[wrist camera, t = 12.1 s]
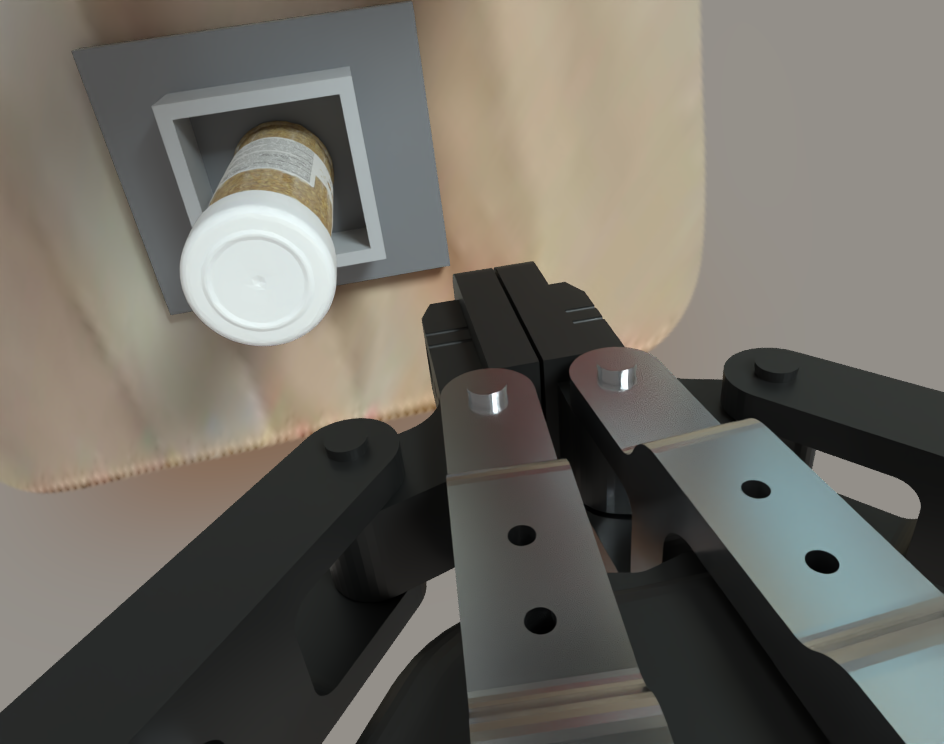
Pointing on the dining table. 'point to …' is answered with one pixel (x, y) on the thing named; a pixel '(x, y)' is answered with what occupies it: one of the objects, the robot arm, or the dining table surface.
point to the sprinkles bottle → (265, 240)
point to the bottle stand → (276, 99)
